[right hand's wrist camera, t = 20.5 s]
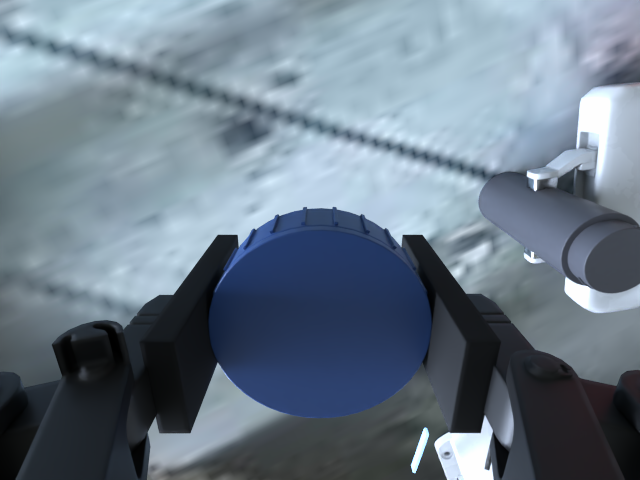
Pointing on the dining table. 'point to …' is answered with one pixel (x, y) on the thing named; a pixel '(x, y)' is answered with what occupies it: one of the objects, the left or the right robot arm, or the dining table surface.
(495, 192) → the jar
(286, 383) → the lid
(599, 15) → the dining table surface
